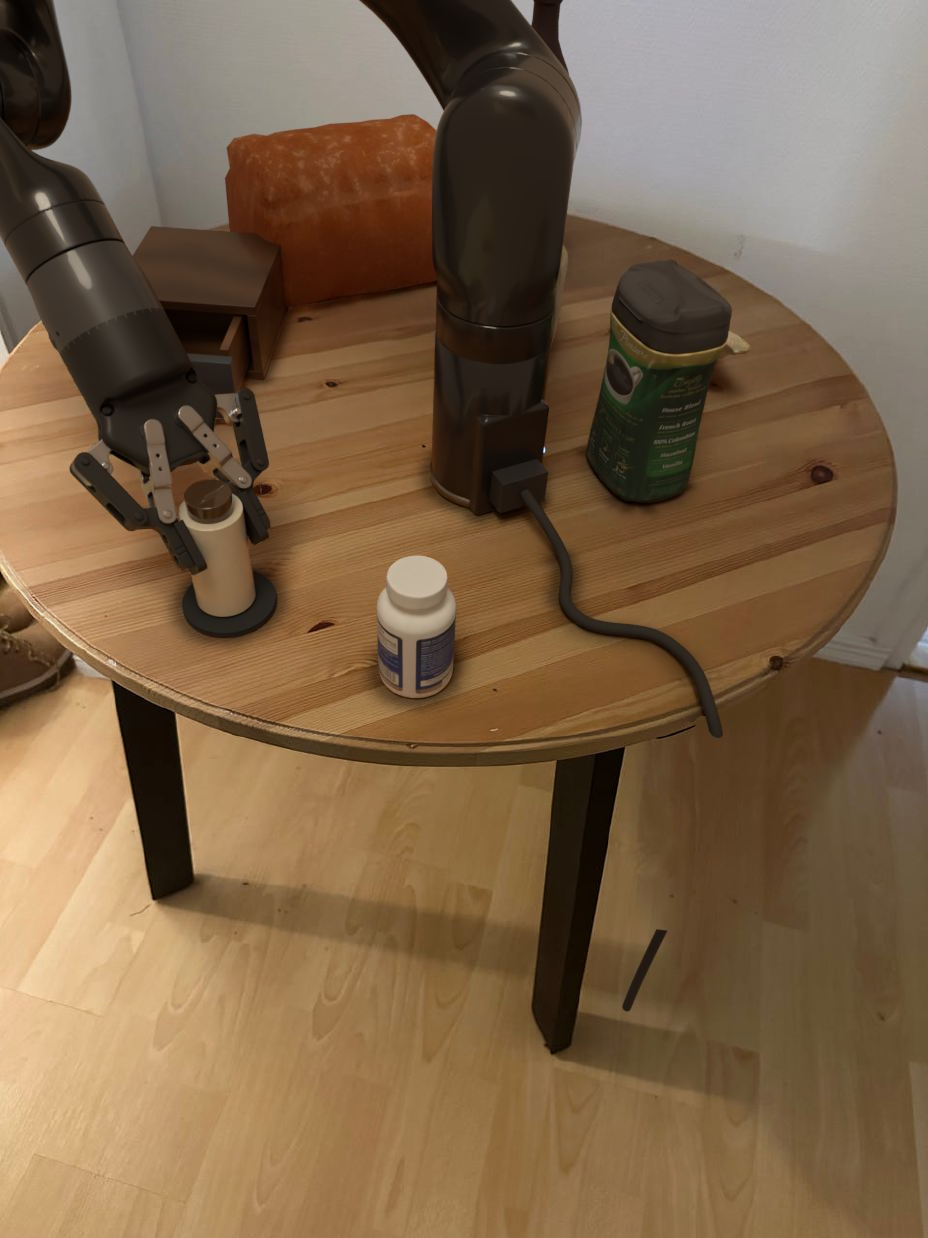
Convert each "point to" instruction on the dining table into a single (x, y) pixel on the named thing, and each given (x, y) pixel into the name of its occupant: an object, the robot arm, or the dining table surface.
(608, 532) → the dining table surface
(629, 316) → the coffee jar
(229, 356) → the drawer
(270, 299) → the cabinet
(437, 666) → the pill bottle
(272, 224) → the bread
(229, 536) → the cream bottle
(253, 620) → the coaster
